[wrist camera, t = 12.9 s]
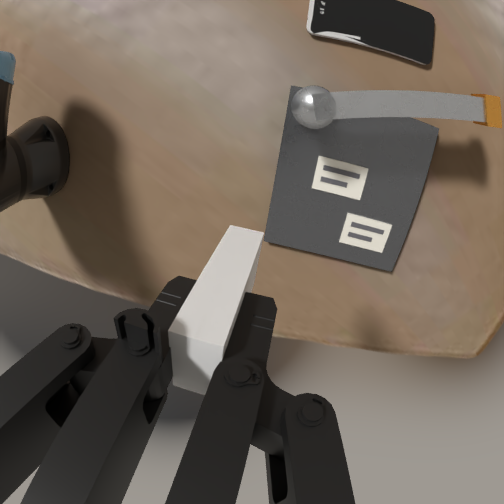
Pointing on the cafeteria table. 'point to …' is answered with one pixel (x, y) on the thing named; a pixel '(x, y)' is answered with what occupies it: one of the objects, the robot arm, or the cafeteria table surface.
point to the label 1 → (339, 177)
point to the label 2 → (365, 232)
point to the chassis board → (337, 206)
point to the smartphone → (375, 26)
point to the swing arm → (392, 106)
